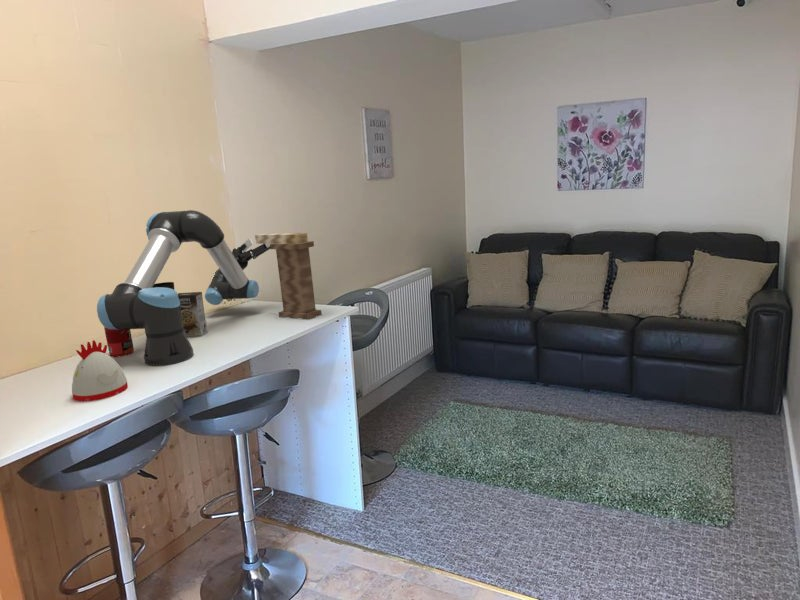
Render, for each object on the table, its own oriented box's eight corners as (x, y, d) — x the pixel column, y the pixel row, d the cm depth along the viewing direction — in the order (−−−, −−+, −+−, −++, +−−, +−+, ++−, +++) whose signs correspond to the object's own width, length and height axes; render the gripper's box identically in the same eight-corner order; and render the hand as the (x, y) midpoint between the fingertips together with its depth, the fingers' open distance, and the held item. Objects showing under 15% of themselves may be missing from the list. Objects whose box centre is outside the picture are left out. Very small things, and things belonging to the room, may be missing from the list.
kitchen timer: (64, 396, 163) (53, 345, 160) (111, 380, 174) (101, 332, 171) (89, 404, 155) (78, 350, 152) (137, 387, 166) (128, 336, 163)
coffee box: (178, 338, 218) (171, 296, 215) (185, 333, 225) (178, 292, 221) (201, 336, 218) (195, 294, 214) (208, 332, 224) (202, 290, 221)
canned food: (128, 356, 199) (122, 325, 197) (105, 357, 199) (99, 326, 197) (138, 349, 207) (132, 319, 204) (116, 351, 207) (110, 321, 205)
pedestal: (279, 317, 240) (269, 244, 233) (292, 312, 246) (283, 241, 240) (308, 319, 231) (299, 244, 225) (321, 314, 238) (313, 241, 231)
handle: (253, 244, 239) (252, 235, 239) (264, 242, 244) (263, 233, 244) (297, 243, 227) (296, 234, 226) (307, 241, 232) (307, 232, 231)
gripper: (208, 261, 242) (236, 234, 230) (253, 253, 263) (280, 228, 251) (217, 276, 242) (244, 250, 230) (260, 267, 262) (288, 242, 250)
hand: (263, 238), depth 240 cm, fingers open, 13 cm apart
